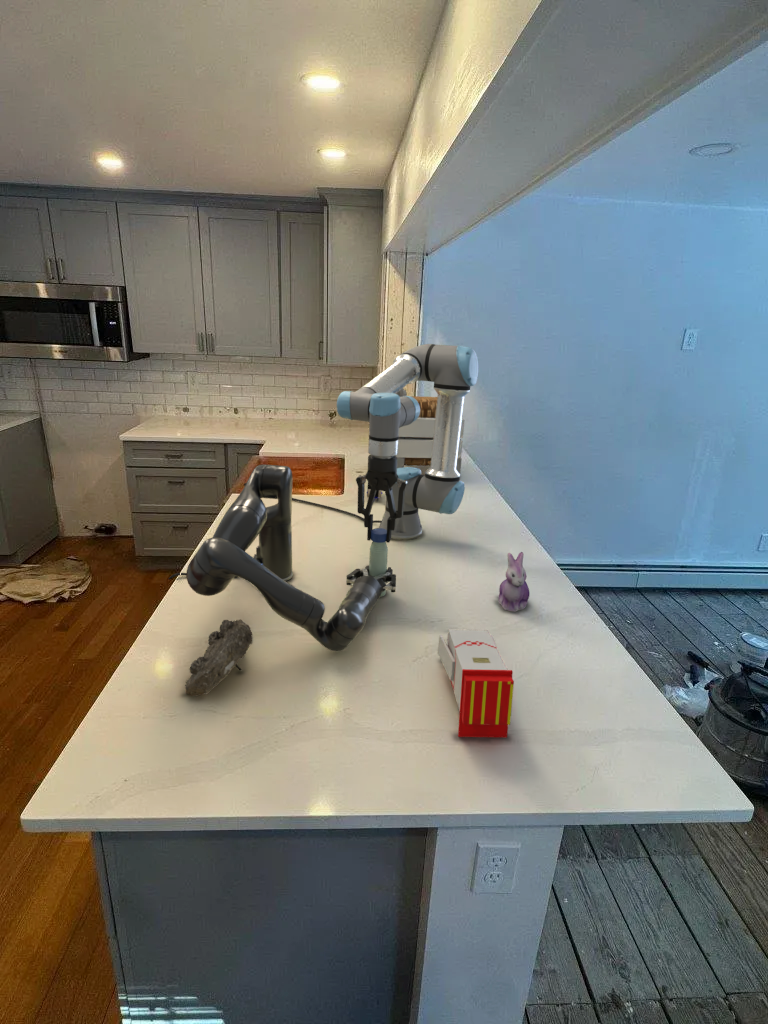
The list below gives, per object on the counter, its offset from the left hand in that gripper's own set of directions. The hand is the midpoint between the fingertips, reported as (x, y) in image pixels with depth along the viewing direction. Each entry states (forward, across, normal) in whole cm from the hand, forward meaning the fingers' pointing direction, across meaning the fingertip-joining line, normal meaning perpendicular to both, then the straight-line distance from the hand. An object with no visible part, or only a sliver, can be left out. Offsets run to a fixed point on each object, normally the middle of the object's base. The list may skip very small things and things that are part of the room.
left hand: (380, 568), depth 158 cm
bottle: (-3, 0, -6) cm, 7 cm away
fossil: (-47, -22, -6) cm, 52 cm away
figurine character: (+78, -23, -6) cm, 81 cm away
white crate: (+122, -13, -6) cm, 123 cm away
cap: (-3, 0, +12) cm, 12 cm away
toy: (-38, +30, -6) cm, 49 cm away
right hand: (-3, 0, +10) cm, 10 cm away
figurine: (+3, +37, -6) cm, 38 cm away
